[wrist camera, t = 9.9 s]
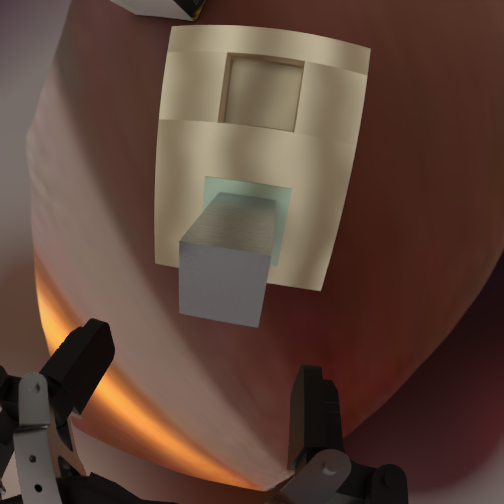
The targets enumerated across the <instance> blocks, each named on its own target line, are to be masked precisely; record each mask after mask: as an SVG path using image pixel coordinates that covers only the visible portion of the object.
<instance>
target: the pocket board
mask: <svg viewBox="0 0 504 504" xmlns="http://www.w3.org/2000/svg"><path fill="white" fill-rule="evenodd" d="M370 50H371V49H369V48H366V47H363V46H359V45H355V44H352V43H348V42H344V41H340V40H336V39H331V38H327V37H322V36H317V35H312V34H306V33H301V32H294V31H288V30H280V29H272V28H262V27H250V26H232V25H188V26H172V29H171V35H170V40H169V46H168V52H167V58H166V65H165V72H164V79H163V87H162V95H161V105H160V114H159V125H158V138H157V153H156V173H155V263H156V264H161V265H166V266H172V267H177V268H179V241H180V239H181V238H182V237H183V236H184V234H185V233H186V232H187V231H188V229H189V228H190V227H191V226H192V224H193V223H194V222H195V221H196V220H197V218H198V217H199V216H200V215H201V213H202V212H203V211H204V210H205V209H206V207H207V206H208V205H209V204H210V203H211V201H212V200H213V199H214V198H215V197H216V195H217V194H218V193H219V192H225V193H232V194H239V195H246V196H253V197H259V198H266V199H272V200H276V206H275V219H274V232H273V244H272V256H271V261H270V267H269V272H268V278H267V283H271V284H278V285H284V286H290V287H297V288H304V289H310V290H317V291H321V288H322V285H323V282H324V278H325V275H326V271H327V268H328V264H329V261H330V257H331V253H332V250H333V246H334V242H335V238H336V234H337V230H338V227H339V223H340V218H341V214H342V210H343V206H344V202H345V197H346V193H347V189H348V184H349V179H350V175H351V170H352V165H353V160H354V155H355V150H356V145H357V139H358V134H359V128H360V122H361V116H362V110H363V104H364V97H365V90H366V83H367V76H368V68H369V59H370Z"/></svg>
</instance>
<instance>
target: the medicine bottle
mask: <svg viewBox="0 0 504 504" xmlns="http://www.w3.org/2000/svg"><path fill="white" fill-rule="evenodd" d="M110 1H112V2H114V3H116V4H118V5H119V6H121V7H123V8H125V9H127V10H128V11H130V12H132V13H134V14H135V15H145V16H157V17H167V18H175V19H182V20H189V21H195V20H196V19H197V17H198V15H199V13H200V11H201V9H202V7H203V5H204V3H205V1H206V0H110Z"/></svg>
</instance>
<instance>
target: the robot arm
mask: <svg viewBox="0 0 504 504" xmlns="http://www.w3.org/2000/svg"><path fill="white" fill-rule="evenodd" d="M114 354H115V347H114V343H113V339H112V335H111V331H110V327H109V324H108V323H106V322H103V321H100V320H97V319H94V318H91V319H90V320H89V321H88V322H87V323H86V324H85V326H84V327H81V326H80V327H78V328H77V329H75V330H73V331H72V332H71V333H70V334H69V335H68V336H67V337H66V339H65V340H64V342H62V344H61V345H60V346H59V349H57V350H56V351H55V353H54V354H53V355H52V356H51V358H50V359H49V360H48V362H47V363H46V364H45V366H44V367H43V368H42V370H41V371H40V372H39V373H29V374H27V375H25V376H24V377H23V378H21V377H15V376H10V375H8V374H7V373H6V371H5V369H4V368H3V367H2V366H0V407H1V408H2V411H1V412H0V504H178V503H174V502H160V501H150V500H143V499H140V498H138V497H137V496H135V495H134V494H132V493H130V492H129V491H127V490H126V489H124V488H123V487H121V486H120V485H118V484H117V483H115V482H113V481H110V480H108V479H105V478H104V477H101V476H99V475H97V474H94V473H93V472H91V474H90V476H87V475H86V472H85V469H84V466H83V464H82V462H81V461H80V459H79V457H78V454H77V450H76V446H75V441H74V437H73V432H72V428H71V421H70V418H69V415H70V413H71V411H72V412H74V413H76V414H78V415H81V413H82V411H83V410H84V408H85V406H86V404H87V403H88V401H89V399H90V397H91V396H92V394H93V392H94V390H95V389H96V387H97V385H98V384H99V382H100V380H101V379H102V377H103V375H104V374H105V372H106V370H107V369H108V367H109V365H110V364H111V362H112V360H113V358H114ZM14 450H15V459H16V466H17V472H18V478H19V484H20V489H21V493H22V494H20V495H17V496H14V497H11V498H8V499H4V500H2V496H1V495H5V493H6V490H5V487H4V486H3V485H2V481H1V479H2V476H3V474H4V471H5V469H6V467H7V465H8V463H9V461H10V458H11V456H12V454H13V452H14ZM287 470H295V477H294V478H293V479H292V480H291V481H290V482H289V483H288V484H287V485H286V486H285V487H284V488H283V489H282V490H280V491H279V492H278V493H277V494H276V495H275V496H273V497H272V498H271V499H270V500H269V501H268V502H266V503H265V504H408V491H407V478H406V475H405V472H404V471H403V470H402V469H401V468H400V467H398V466H397V465H393V464H386V465H382V466H380V467H379V468H378V469H377V468H372V467H369V466H365V465H361V464H358V463H355V462H354V461H352V460H351V459H350V458H348V456H347V455H346V453H345V451H344V448H343V438H342V426H341V415H340V405H339V396H338V390H337V388H336V387H335V385H334V383H333V382H332V380H323V379H322V368H321V366H315V365H306V364H302V365H301V367H300V369H299V372H298V375H297V377H296V380H295V382H294V385H293V388H292V392H291V399H290V425H289V446H288V464H287Z"/></svg>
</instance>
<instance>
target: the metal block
mask: <svg viewBox="0 0 504 504" xmlns="http://www.w3.org/2000/svg"><path fill="white" fill-rule="evenodd" d="M275 206H276V200H272V199H266V198H259V197H253V196H246V195H239V194H232V193H225V192H219V193H218V194H217V195H216V197H215V198H214V199H213V200H212V201H211V203H210V204H209V205H208V206H207V207H206V209H205V210H204V211H203V212H202V213H201V215H200V216H199V217H198V218H197V220H196V221H195V222H194V223H193V224H192V226H191V227H190V228H189V229H188V231H187V232H186V233H185V234H184V236H183V237H182V238H181V239H180V241H179V313H181V314H186V315H191V316H196V317H201V318H206V319H212V320H217V321H222V322H228V323H234V324H239V325H245V326H251V327H258V325H259V320H260V315H261V310H262V305H263V299H264V294H265V289H266V283H267V278H268V272H269V267H270V261H271V256H272V244H273V232H274V219H275Z"/></svg>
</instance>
